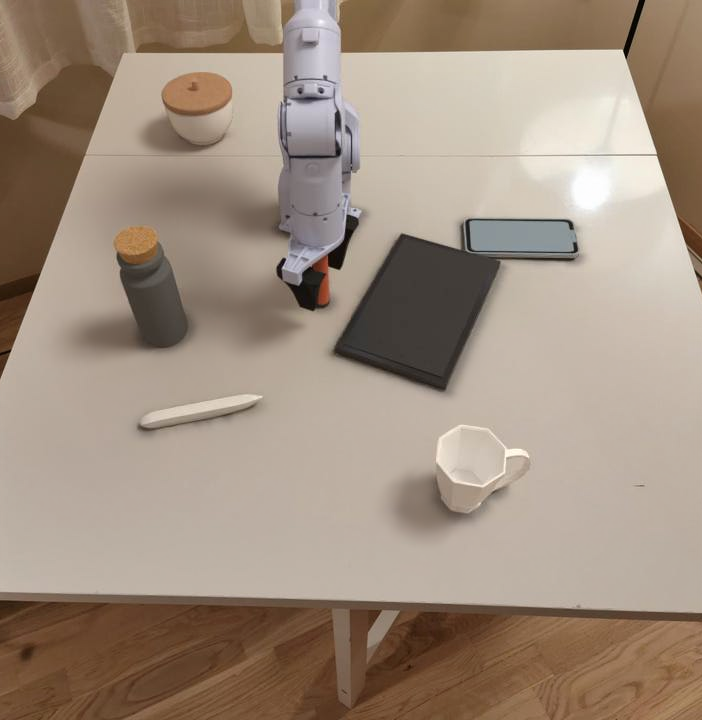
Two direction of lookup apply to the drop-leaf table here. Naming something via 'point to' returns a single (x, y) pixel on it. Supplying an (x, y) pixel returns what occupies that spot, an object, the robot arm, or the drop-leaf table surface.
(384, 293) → the tablet
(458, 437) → the cup
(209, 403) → the pen
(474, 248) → the smartphone
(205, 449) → the drop-leaf table surface
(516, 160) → the drop-leaf table surface
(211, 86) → the trinket box
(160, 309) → the bottle
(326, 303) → the orange cylinder
